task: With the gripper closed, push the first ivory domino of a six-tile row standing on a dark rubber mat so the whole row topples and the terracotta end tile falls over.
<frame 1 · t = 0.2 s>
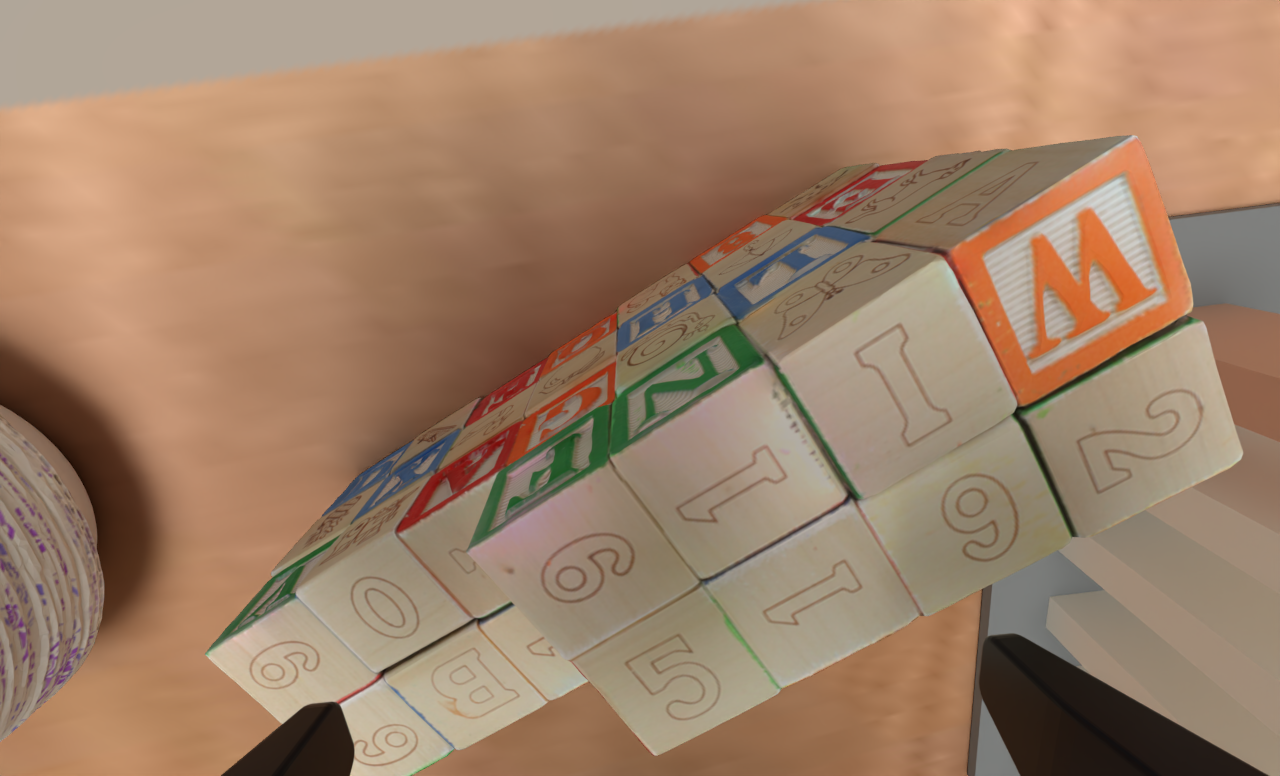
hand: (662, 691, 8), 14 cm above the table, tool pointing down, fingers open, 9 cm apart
domino 5: (1135, 434, 23), point 1 cm above the table, touching mat
domino 3: (1106, 605, 25), point 1 cm above the table, touching mat
stack of blocks: (628, 394, 23), on the table
domino 6: (1152, 333, 21), point 1 cm above the table, touching mat
domino 4: (1119, 524, 24), point 1 cm above the table, touching mat
mat: (1105, 537, 25), on the table
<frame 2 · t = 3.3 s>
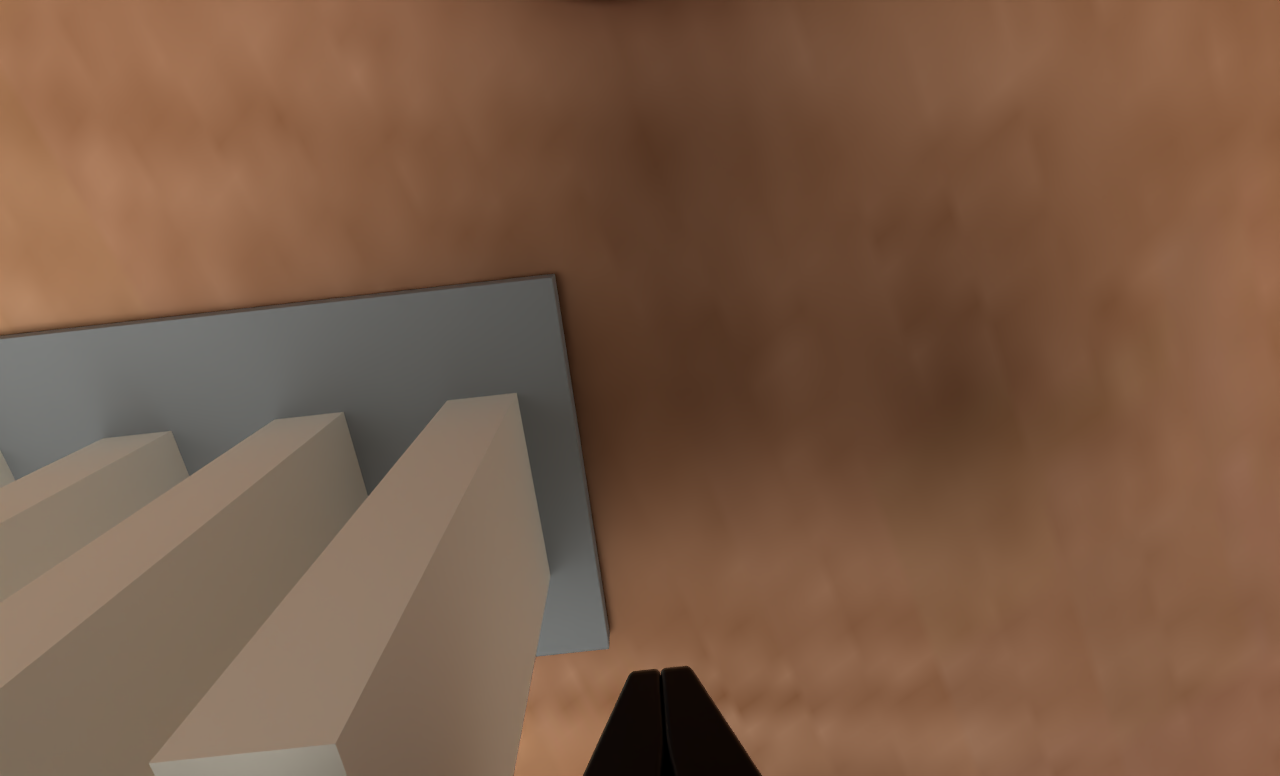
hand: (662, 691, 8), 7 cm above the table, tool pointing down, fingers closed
domino 3: (176, 528, 14), point 1 cm above the table, touching mat
domino 2: (338, 510, 14), point 1 cm above the table, touching mat
domino 1: (501, 493, 14), point 1 cm above the table, touching mat
mat: (76, 528, 15), on the table
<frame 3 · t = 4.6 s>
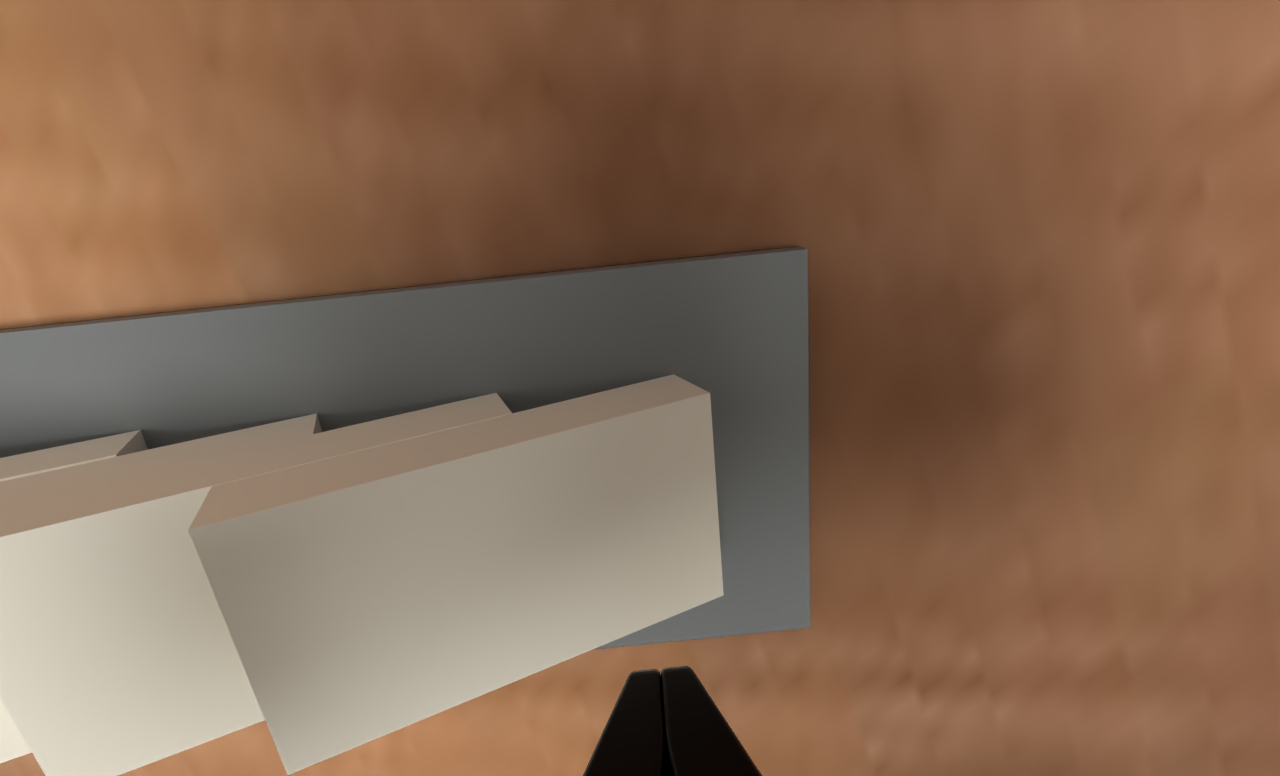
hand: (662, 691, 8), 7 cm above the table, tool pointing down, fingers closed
domino 3: (344, 523, 14), point 1 cm above the table, tilted 67°, touching domino 2, domino 4, mat
domino 2: (522, 503, 14), point 1 cm above the table, tilted 67°, touching domino 1, domino 3, mat
domino 1: (698, 485, 14), point 1 cm above the table, tilted 67°, touching domino 2
domino 4: (169, 540, 14), point 1 cm above the table, tilted 67°, touching domino 3, domino 5
mat: (288, 502, 15), on the table
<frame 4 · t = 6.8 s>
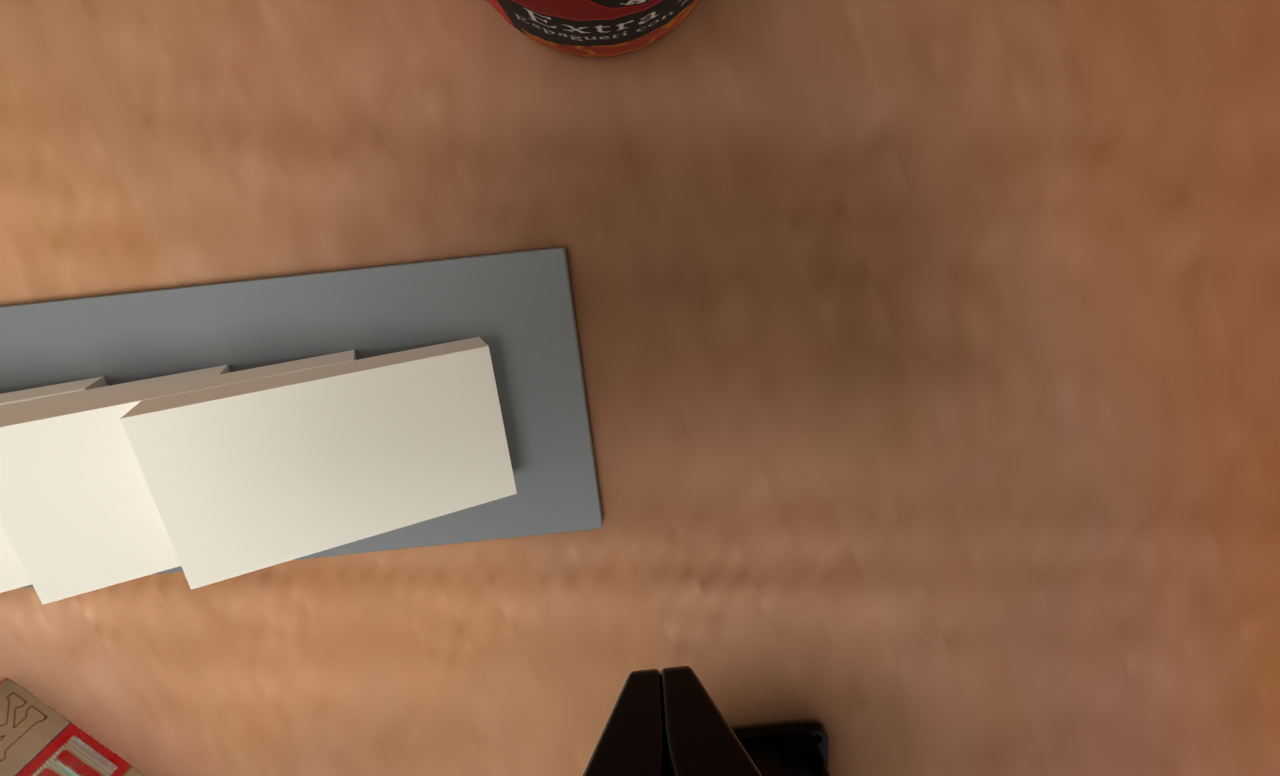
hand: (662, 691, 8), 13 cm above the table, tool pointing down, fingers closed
domino 3: (248, 443, 19), point 1 cm above the table, tilted 67°, touching domino 2, domino 4, mat
domino 2: (373, 428, 19), point 1 cm above the table, tilted 67°, touching domino 1, domino 3, mat
domino 1: (498, 415, 19), point 1 cm above the table, tilted 67°, touching domino 2, mat
domino 4: (124, 454, 19), point 1 cm above the table, tilted 66°, touching domino 3, domino 5, mat
mat: (213, 432, 21), on the table
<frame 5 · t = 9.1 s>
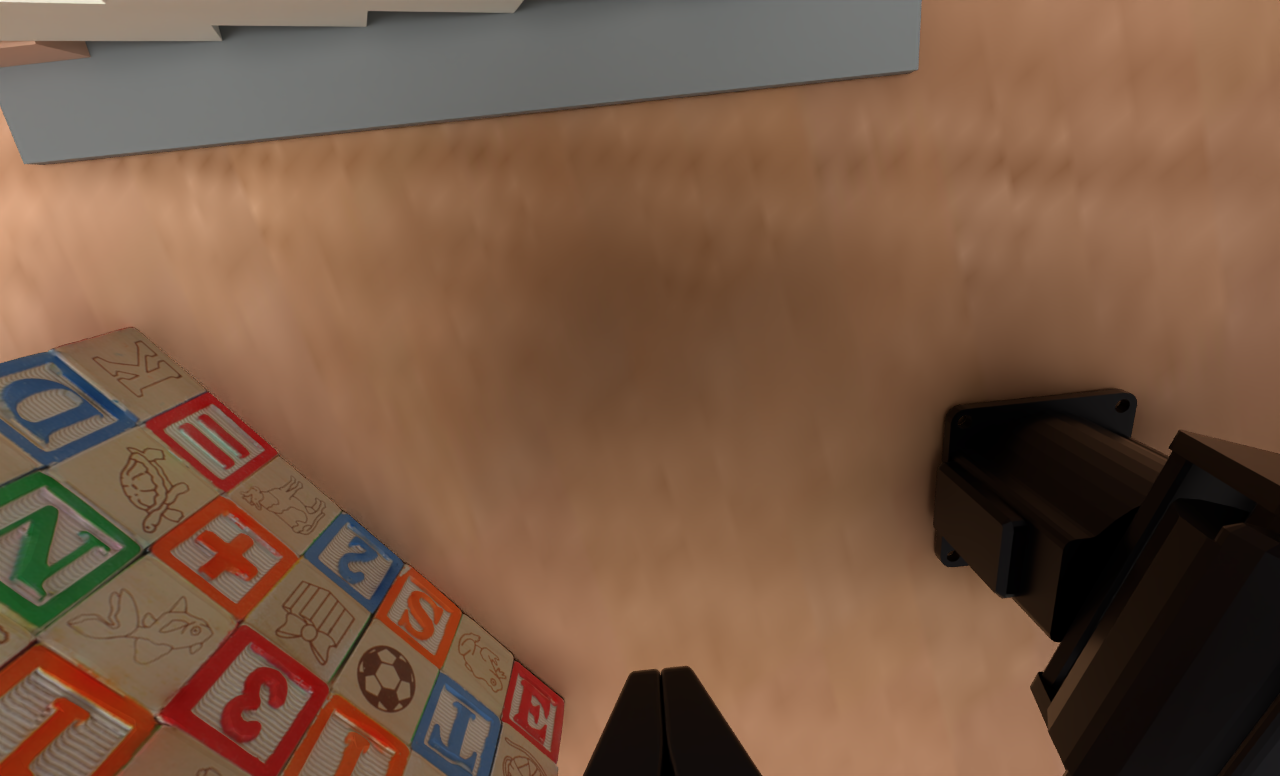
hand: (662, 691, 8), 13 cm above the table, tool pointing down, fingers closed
stack of blocks: (326, 575, 23), on the table
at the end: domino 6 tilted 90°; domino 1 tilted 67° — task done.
